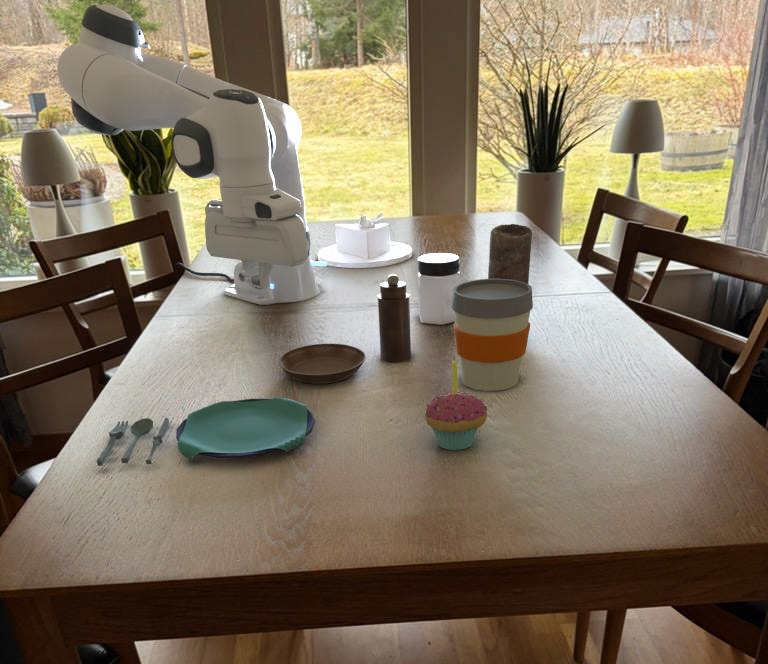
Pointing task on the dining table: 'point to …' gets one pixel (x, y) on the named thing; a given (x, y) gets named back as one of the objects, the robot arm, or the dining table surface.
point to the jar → (437, 287)
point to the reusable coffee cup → (491, 331)
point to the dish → (364, 246)
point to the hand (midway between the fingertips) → (260, 287)
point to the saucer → (322, 362)
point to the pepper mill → (394, 321)
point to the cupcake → (455, 416)
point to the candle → (510, 252)
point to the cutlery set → (228, 430)
